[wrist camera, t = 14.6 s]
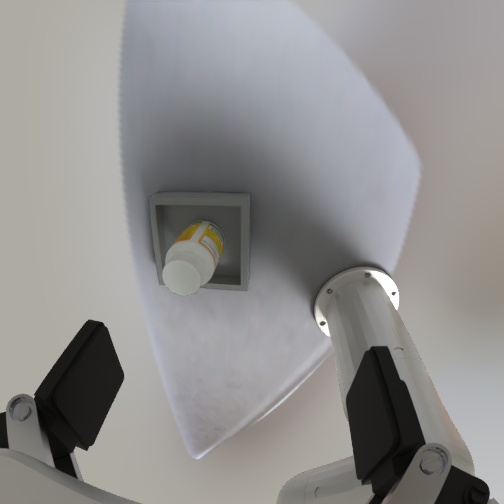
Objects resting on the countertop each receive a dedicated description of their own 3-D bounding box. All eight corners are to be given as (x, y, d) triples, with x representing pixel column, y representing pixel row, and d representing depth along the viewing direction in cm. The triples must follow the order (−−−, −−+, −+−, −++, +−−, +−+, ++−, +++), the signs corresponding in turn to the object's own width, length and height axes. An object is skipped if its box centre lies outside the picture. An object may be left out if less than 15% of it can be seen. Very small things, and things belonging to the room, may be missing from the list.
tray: (250, 192, 33) (248, 199, 31) (249, 278, 38) (247, 291, 36) (157, 192, 34) (148, 198, 31) (166, 273, 39) (159, 284, 36)
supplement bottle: (229, 225, 34) (213, 262, 26) (220, 263, 37) (204, 308, 28) (186, 214, 34) (157, 247, 26) (180, 253, 37) (154, 293, 28)
